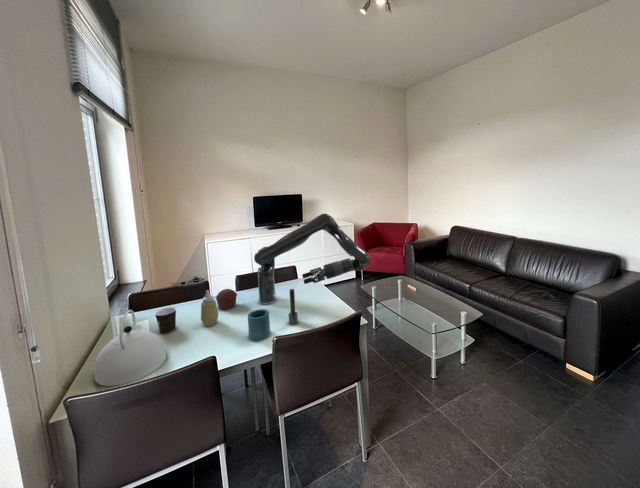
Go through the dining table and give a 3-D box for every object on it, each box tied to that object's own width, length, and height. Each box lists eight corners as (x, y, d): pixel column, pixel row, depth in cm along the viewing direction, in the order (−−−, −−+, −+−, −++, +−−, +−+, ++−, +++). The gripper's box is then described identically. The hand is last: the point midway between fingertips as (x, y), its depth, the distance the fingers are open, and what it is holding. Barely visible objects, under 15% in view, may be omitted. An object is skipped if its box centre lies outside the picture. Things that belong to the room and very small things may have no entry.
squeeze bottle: (211, 328, 150) (208, 294, 147) (197, 327, 151) (194, 293, 149) (222, 320, 157) (219, 288, 155) (209, 319, 159) (206, 287, 157)
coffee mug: (159, 327, 151) (157, 309, 149) (179, 324, 154) (177, 305, 153) (153, 339, 140) (151, 319, 139) (175, 335, 144) (173, 315, 142)
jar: (248, 333, 145) (247, 311, 144) (268, 328, 149) (267, 307, 148) (249, 342, 137) (248, 320, 135) (271, 337, 141) (269, 316, 139)
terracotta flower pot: (239, 307, 172) (238, 291, 171) (218, 313, 166) (217, 296, 164) (235, 300, 182) (234, 285, 180) (215, 305, 176) (213, 289, 174)
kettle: (109, 354, 129) (102, 305, 126) (171, 341, 138) (166, 295, 135) (84, 393, 106) (75, 334, 103) (160, 374, 116) (154, 320, 113)
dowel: (288, 321, 156) (286, 288, 153) (296, 319, 158) (295, 287, 155) (289, 325, 151) (288, 292, 149) (298, 323, 153) (297, 290, 151)
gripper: (329, 259, 163) (300, 268, 159) (334, 266, 149) (302, 276, 145) (332, 272, 164) (303, 281, 160) (338, 280, 151) (306, 290, 146)
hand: (303, 279), depth 152 cm, fingers open, 8 cm apart
